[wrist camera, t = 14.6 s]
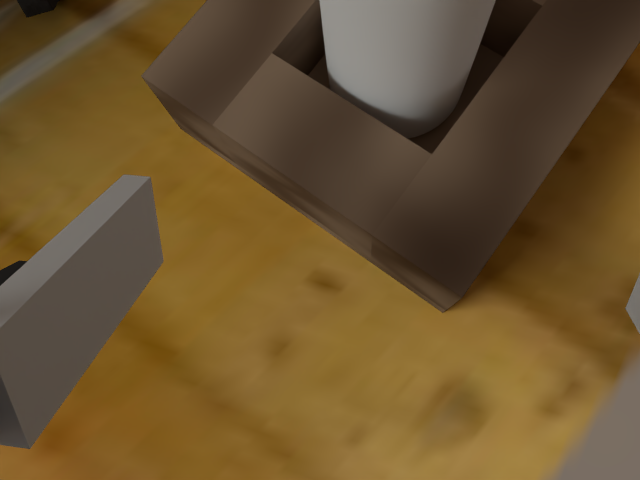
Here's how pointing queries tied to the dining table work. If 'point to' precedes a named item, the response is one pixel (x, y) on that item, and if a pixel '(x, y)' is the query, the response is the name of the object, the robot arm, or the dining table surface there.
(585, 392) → the dining table surface
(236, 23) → the socket block
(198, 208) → the dining table surface
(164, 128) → the dining table surface
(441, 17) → the can
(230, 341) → the dining table surface
